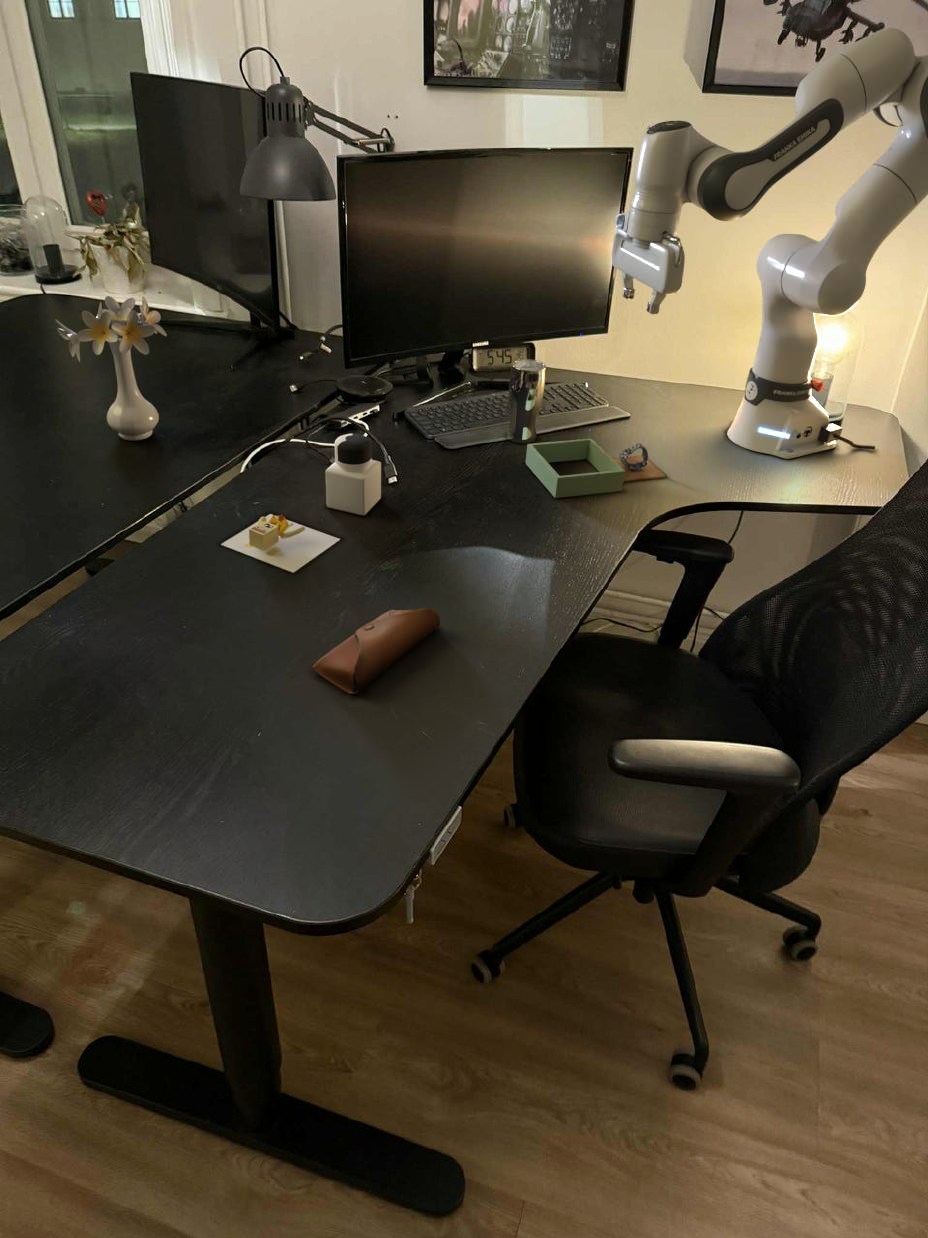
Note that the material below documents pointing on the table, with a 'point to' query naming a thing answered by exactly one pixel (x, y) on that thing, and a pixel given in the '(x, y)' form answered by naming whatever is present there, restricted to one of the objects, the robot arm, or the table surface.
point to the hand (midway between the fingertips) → (639, 305)
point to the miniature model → (281, 542)
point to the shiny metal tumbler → (525, 399)
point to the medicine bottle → (353, 476)
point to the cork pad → (639, 470)
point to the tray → (576, 484)
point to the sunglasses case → (375, 647)
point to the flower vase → (121, 360)
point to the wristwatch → (629, 451)
